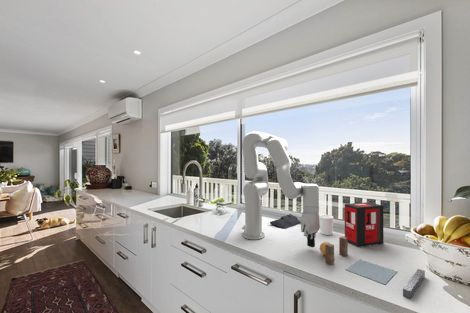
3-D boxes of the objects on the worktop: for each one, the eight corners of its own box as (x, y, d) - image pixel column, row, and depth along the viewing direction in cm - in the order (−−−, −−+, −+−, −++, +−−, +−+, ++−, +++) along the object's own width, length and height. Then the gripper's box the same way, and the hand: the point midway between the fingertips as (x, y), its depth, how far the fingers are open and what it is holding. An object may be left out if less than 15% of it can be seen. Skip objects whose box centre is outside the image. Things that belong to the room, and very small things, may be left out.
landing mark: (345, 269, 92) (345, 269, 92) (359, 259, 101) (359, 259, 101) (385, 284, 82) (385, 284, 82) (397, 271, 91) (397, 271, 91)
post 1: (325, 263, 98) (325, 244, 98) (328, 261, 100) (328, 243, 100) (331, 265, 96) (331, 246, 96) (334, 263, 98) (334, 244, 98)
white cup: (316, 232, 138) (316, 215, 138) (326, 230, 141) (326, 214, 141) (325, 236, 131) (325, 218, 130) (336, 234, 133) (336, 217, 133)
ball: (331, 249, 101) (326, 260, 103) (337, 245, 105) (333, 256, 107) (319, 241, 105) (315, 251, 107) (326, 237, 109) (322, 248, 111)
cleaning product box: (369, 237, 128) (369, 202, 128) (383, 243, 119) (383, 205, 119) (344, 240, 124) (344, 204, 124) (357, 247, 115) (357, 207, 115)
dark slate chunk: (266, 225, 154) (266, 218, 154) (285, 218, 169) (285, 212, 169) (285, 230, 143) (285, 222, 143) (303, 223, 157) (303, 216, 157)
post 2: (339, 254, 107) (339, 237, 107) (341, 253, 108) (341, 236, 108) (345, 256, 105) (345, 239, 105) (347, 254, 106) (347, 237, 106)
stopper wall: (403, 296, 75) (403, 288, 75) (418, 275, 88) (418, 268, 88) (410, 299, 74) (410, 291, 74) (424, 277, 87) (424, 270, 86)
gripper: (312, 205, 120) (312, 240, 120) (295, 210, 110) (295, 248, 110) (325, 208, 114) (326, 244, 114) (309, 213, 104) (309, 253, 105)
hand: (311, 246), depth 112 cm, fingers closed
